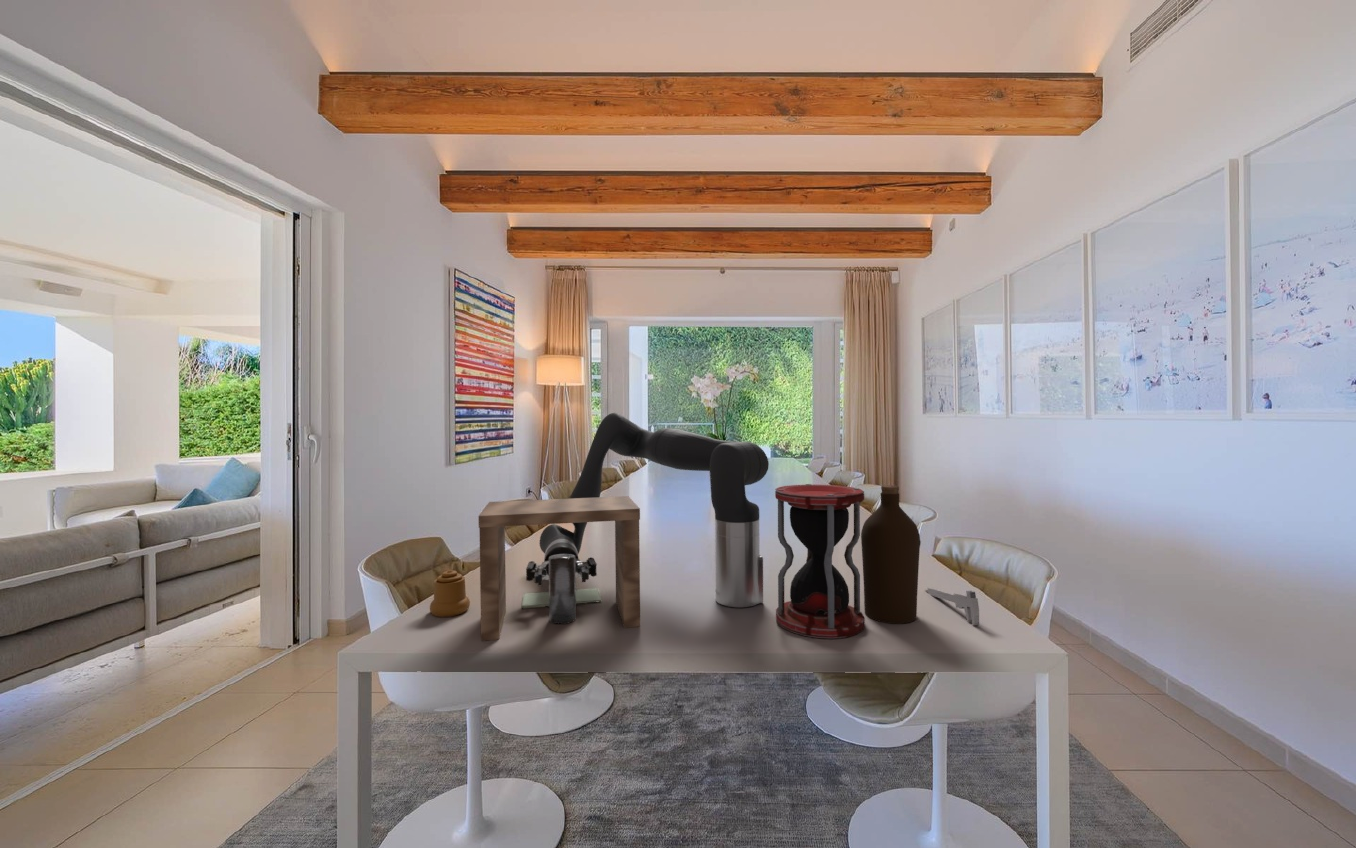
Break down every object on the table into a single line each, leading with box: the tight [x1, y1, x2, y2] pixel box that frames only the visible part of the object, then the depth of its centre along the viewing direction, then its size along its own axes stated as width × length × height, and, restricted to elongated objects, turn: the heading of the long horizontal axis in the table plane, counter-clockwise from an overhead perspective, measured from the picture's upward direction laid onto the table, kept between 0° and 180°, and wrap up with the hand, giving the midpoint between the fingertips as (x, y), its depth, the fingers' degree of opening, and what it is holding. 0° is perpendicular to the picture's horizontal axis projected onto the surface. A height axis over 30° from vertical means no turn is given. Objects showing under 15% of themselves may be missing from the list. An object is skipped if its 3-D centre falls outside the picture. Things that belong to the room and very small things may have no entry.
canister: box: [548, 554, 577, 625], centre depth 106 cm, size 5×5×12 cm
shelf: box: [478, 495, 641, 642], centre depth 106 cm, size 28×16×22 cm, turn 102°
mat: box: [521, 587, 602, 609], centre depth 118 cm, size 16×8×1 cm, turn 102°
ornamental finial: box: [429, 569, 471, 618], centre depth 111 cm, size 8×8×8 cm
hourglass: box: [774, 483, 866, 640], centre depth 104 cm, size 16×16×25 cm
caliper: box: [924, 587, 980, 627], centre depth 111 cm, size 20×1×6 cm, turn 0°
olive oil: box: [860, 484, 922, 625], centre depth 107 cm, size 11×11×25 cm
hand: (562, 578), depth 110 cm, fingers open, 8 cm apart
